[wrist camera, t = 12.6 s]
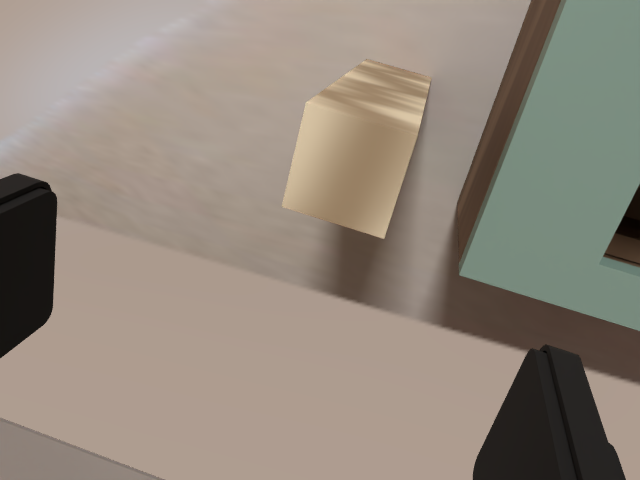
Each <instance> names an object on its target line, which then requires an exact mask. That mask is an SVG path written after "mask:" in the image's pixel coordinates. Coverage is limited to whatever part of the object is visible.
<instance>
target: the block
mask: <svg viewBox="0 0 640 480" xmlns="http://www.w3.org/2000/svg"><path fill="white" fill-rule="evenodd" d="M430 82H431V77H428V76H424V75H421V74H417V73H414V72H410V71H407V70H403V69H400V68H396V67H393V66H389V65H386V64H382V63H379V62H375V61H372V60H368V59H366V60H365V61H364V62H362V63H361V64H359V65H358V66H357V67H355V68H354V69H352V70H351V71H350V72H348V73H347V74H345V75H344V76H343V77H341V78H340V79H338V80H337V81H336V82H334V83H333V84H331V85H330V86H329V87H327V88H326V89H324V90H323V91H322V92H320V93H319V94H317V95H316V96H315V97H313V98H312V99H310V100H309V101H308V102H306V105H305V109H304V113H303V118H302V122H301V126H300V130H299V135H298V139H297V143H296V148H295V152H294V156H293V160H292V165H291V169H290V173H289V177H288V182H287V186H286V190H285V195H284V199H283V203H282V207H284V208H287V209H290V210H294V211H297V212H300V213H303V214H306V215H310V216H313V217H316V218H319V219H322V220H325V221H329V222H332V223H335V224H338V225H341V226H344V227H348V228H351V229H354V230H357V231H360V232H364V233H367V234H370V235H373V236H376V237H379V238H383V239H384V237H385V234H386V231H387V228H388V225H389V222H390V219H391V216H392V213H393V210H394V207H395V204H396V201H397V198H398V195H399V192H400V188H401V185H402V182H403V179H404V176H405V173H406V170H407V167H408V164H409V161H410V158H411V155H412V152H413V149H414V146H415V142H416V139H417V136H418V132H419V128H420V124H421V120H422V116H423V111H424V107H425V103H426V99H427V95H428V91H429V86H430Z"/></svg>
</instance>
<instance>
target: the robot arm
mask: <svg viewBox="0 0 640 480" xmlns="http://www.w3.org/2000/svg"><path fill="white" fill-rule="evenodd" d="M56 217H57V197H56V194H55V193H54V192H52V191H51V188H50V185H49V184H48V183H47V182H44V181H41V180H38V179H35V178H31V177H28V176H25V175H22V174H19V173H18V174H13V175H10V176H8V177H5V178H2V179H0V358H1V357H2V356H4V355H5V354H7V353H8V352H9V351H10V350H12V349H13V348H14V347H16V346H17V345H18V344H19V343H21V342H22V341H23V340H25V339H26V338H27V337H29V336H30V335H31V334H32V333H34V332H35V331H36V330H38V329H39V328H40V327H41V326H43V325H44V324H45V323H46V322H47V320H48V319H49V317H50V315H51V312H52V308H53V289H54V265H55V241H56ZM0 480H164V479H161V478H159V477H156V476H154V475H151V474H148V473H146V472H143V471H140V470H138V469H135V468H132V467H130V466H127V465H125V464H122V463H119V462H117V461H114V460H111V459H109V458H106V457H103V456H101V455H98V454H95V453H93V452H90V451H87V450H85V449H82V448H80V447H77V446H74V445H71V444H69V443H66V442H64V441H61V440H58V439H56V438H53V437H50V436H48V435H45V434H42V433H40V432H37V431H35V430H32V429H29V428H26V427H24V426H21V425H19V424H16V423H13V422H11V421H8V420H5V419H3V418H0ZM473 480H626V479H625V476H624V473H623V470H622V467H621V464H620V461H619V458H618V455H617V453H616V451H615V449H614V447H613V446H612V445H611V444H610V443H608V440H607V437H606V434H605V432H604V428H603V425H602V422H601V419H600V416H599V413H598V410H597V407H596V404H595V401H594V398H593V395H592V392H591V389H590V386H589V383H588V380H587V377H586V374H585V371H584V368H583V365H582V362H581V359H580V357H579V355H576V354H573V353H570V352H567V351H564V350H561V349H558V348H555V347H552V346H549V345H544V346H543V347H542V348H541V349H540V351H538V350H535V349H530V350H529V352H528V353H527V355H526V357H525V359H524V361H523V363H522V365H521V367H520V369H519V371H518V373H517V375H516V378H515V379H514V382H513V384H512V386H511V388H510V390H509V392H508V394H507V396H506V398H505V400H504V402H503V404H502V406H501V409H500V411H499V413H498V415H497V417H496V419H495V421H494V423H493V425H492V427H491V429H490V432H489V433H488V435H487V437H486V440H485V442H484V444H483V446H482V448H481V450H480V452H479V454H478V456H477V459H476V462H475V466H474V471H473Z"/></svg>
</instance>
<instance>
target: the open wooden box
mask: <svg viewBox="0 0 640 480" xmlns="http://www.w3.org/2000/svg"><path fill="white" fill-rule="evenodd" d="M560 2H561V0H531V3H530V6H529V9H528V11H527V14H526V17H525V19H524V22H523V25H522V28H521V30H520V33H519V36H518V39H517V41H516V44H515V47H514V49H513V52H512V55H511V58H510V60H509V63H508V66H507V69H506V71H505V74H504V77H503V79H502V82H501V85H500V88H499V90H498V93H497V96H496V99H495V101H494V104H493V107H492V109H491V112H490V115H489V118H488V120H487V123H486V126H485V129H484V131H483V134H482V137H481V140H480V142H479V145H478V148H477V150H476V153H475V156H474V159H473V161H472V164H471V167H470V170H469V172H468V175H467V178H466V180H465V183H464V186H463V189H462V191H461V194H460V197H459V200H458V202H457V210H458V244H459V261H460V260H461V258H462V255H463V252H464V250H465V247H466V245H467V242H468V239H469V237H470V234H471V232H472V229H473V227H474V224H475V221H476V219H477V216H478V214H479V211H480V208H481V206H482V203H483V201H484V198H485V196H486V193H487V190H488V188H489V185H490V183H491V180H492V177H493V175H494V172H495V170H496V167H497V165H498V162H499V159H500V157H501V154H502V152H503V149H504V146H505V144H506V141H507V139H508V136H509V134H510V131H511V128H512V126H513V123H514V121H515V118H516V115H517V113H518V110H519V108H520V105H521V103H522V100H523V97H524V95H525V92H526V90H527V87H528V84H529V82H530V79H531V77H532V74H533V72H534V69H535V66H536V64H537V61H538V59H539V56H540V53H541V51H542V48H543V46H544V43H545V41H546V38H547V35H548V33H549V30H550V28H551V25H552V22H553V20H554V17H555V15H556V12H557V10H558V7H559V4H560ZM603 257H606V258H609V259H612V260H616V261H619V262H622V263H626V264H629V265H632V266H636V267H639V268H640V184H639V186H638V188H637V190H636V192H635V194H634V196H633V198H632V200H631V202H630V204H629V206H628V208H627V210H626V212H625V214H624V216H623V218H622V220H621V222H620V224H619V226H618V228H617V230H616V232H615V234H614V236H613V237H612V239H611V241H610V243H609V245H608V247H607V249H606V251H605V253H604V255H603Z"/></svg>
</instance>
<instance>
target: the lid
mask: <svg viewBox="0 0 640 480" xmlns="http://www.w3.org/2000/svg"><path fill="white" fill-rule="evenodd" d="M639 184H640V0H561V2H560V4H559V7H558V10H557V12H556V15H555V17H554V20H553V22H552V25H551V28H550V30H549V33H548V35H547V38H546V41H545V43H544V46H543V48H542V51H541V53H540V56H539V59H538V61H537V64H536V66H535V69H534V72H533V74H532V77H531V79H530V82H529V84H528V87H527V90H526V92H525V95H524V97H523V100H522V103H521V105H520V108H519V110H518V113H517V115H516V118H515V121H514V123H513V126H512V128H511V131H510V134H509V136H508V139H507V141H506V144H505V146H504V149H503V152H502V154H501V157H500V159H499V162H498V165H497V167H496V170H495V172H494V175H493V177H492V180H491V183H490V185H489V188H488V190H487V193H486V196H485V198H484V201H483V203H482V206H481V208H480V211H479V214H478V216H477V219H476V221H475V224H474V227H473V229H472V232H471V234H470V237H469V239H468V242H467V245H466V247H465V250H464V252H463V255H462V258H461V260H460V263H459V275H460V276H463V277H467V278H470V279H473V280H476V281H480V282H483V283H486V284H489V285H492V286H496V287H499V288H502V289H505V290H509V291H512V292H515V293H518V294H522V295H525V296H528V297H531V298H535V299H538V300H541V301H544V302H547V303H551V304H554V305H557V306H560V307H564V308H567V309H570V310H573V311H577V312H580V313H583V314H586V315H590V316H593V317H596V318H599V319H602V320H606V321H609V322H612V323H615V324H619V325H622V326H625V327H628V328H632V329H635V330H638V331H640V268H639V267H636V266H632V265H629V264H626V263H622V262H619V261H616V260H612V259H609V258H606V257H603V255H604V253H605V251H606V249H607V247H608V245H609V243H610V241H611V239H612V237H613V236H614V234H615V232H616V230H617V228H618V226H619V224H620V222H621V220H622V218H623V216H624V214H625V212H626V210H627V208H628V206H629V204H630V202H631V200H632V198H633V196H634V194H635V192H636V190H637V188H638V186H639Z"/></svg>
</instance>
